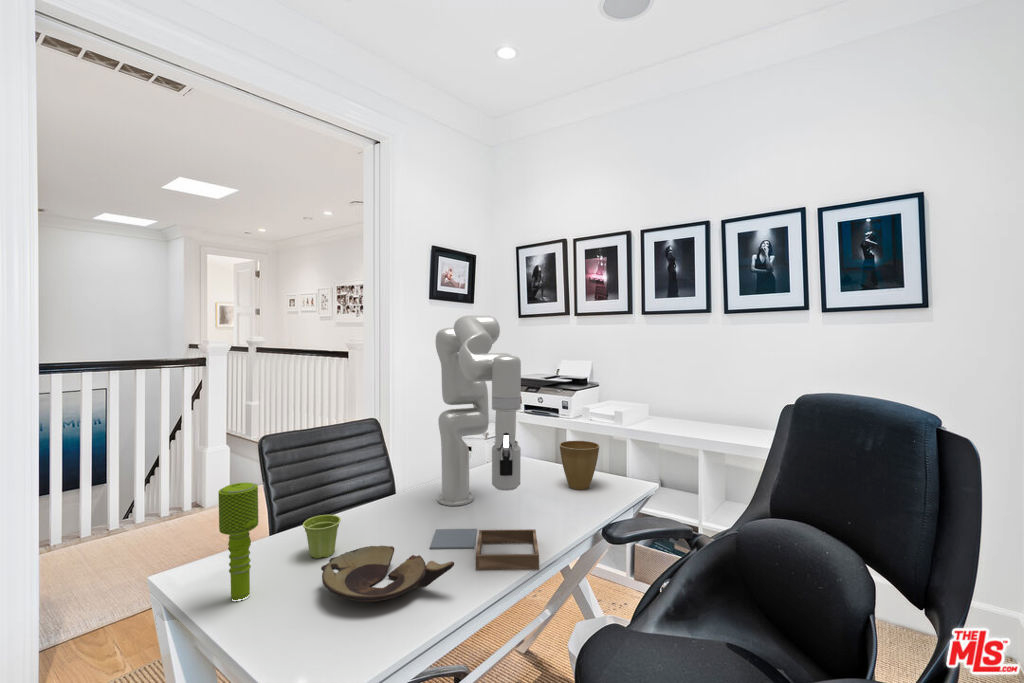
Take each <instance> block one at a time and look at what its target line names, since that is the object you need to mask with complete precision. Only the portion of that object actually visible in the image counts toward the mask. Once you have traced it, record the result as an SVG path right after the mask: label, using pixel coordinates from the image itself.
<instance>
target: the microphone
mask: <svg viewBox="0 0 1024 683" xmlns="http://www.w3.org/2000/svg"><path fill="white" fill-rule="evenodd" d="M217 492H218V493H217V494H218V528H219V533H221V534H222V535H226V536H227V535H228V543H227V546H228V547H227V550H228V552H230V554H229V555H228V558H229V563H228V566H229V567H230V568H229V570H228V572H229V574H230V600H231V599H233V600H238V599H243V598H245V597H247V596H248V595H249V594H250V595H251V592H250V591H251V583H250V582H251V581H250V580H251V577H250V576H251V574H250V571H251V568H252V565H251V564H250V563H251V561H252V560H251V558H250V555H251V551H250V550H249V549H250V548H251V543H252V541H251V540H252V539H251V537H250V535H251V534H250V531H252V530H255V528H256V527H258V526H259V486H258V484H256V483H253V482H237V483H232V484H229V485H225V487H224V486H223V488H220V489H219V490H218V491H217Z"/></svg>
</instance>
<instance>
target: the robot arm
mask: <svg viewBox="0 0 1024 683" xmlns="http://www.w3.org/2000/svg"><path fill="white" fill-rule="evenodd" d="M500 332H501V327H500V324H499V322H498V320H497V319H496V318H495V317H494V316H491V315H465V316H460V317H459V318H457V320H455V322H454V325H453V327H446V328H442V329H440V330H438V331H437V332H436V335H435V342H434V343H435V349H436V354H437V356H438V358H439V363H440V367H441V395H442V396H441V397H442V400H443V403H445V404H446V405H450V406H460V405H461V406H462V405H472V406H473V407H467V408H466V407H465V408H464V407H463V408H451V409H446V410H444V411H442V412H441V413H440V414H439V416H438V420H437V421H438V430H439V435H440V446H441V448H440V449H441V450H440V451H441V493H440V494H439V495H437V502H438V503H439V504H441V505H444V506H453V507H456V506H463V505H464V506H465V505H467V504H469V503H473V501H474V500H475V496H474V494H473V493H472V492H470V449H469V446H468V444H467V443H466V442H465V441H464V440H463V437H467V436H469V437H470V436H477V435H482V434H483V435H484V434H485V433H486V432H487V431H488V429H489V416H490V414H489V393H488V392H489V390H488V384H487V382H491V410H492V411H495V422H494V423H495V424H494V425H495V426H494V427H495V428H494V431H495V432H494V434H495V435H494V436H495V441H494V442H495V443H494V445H495V448H496V449H498V448H500V447H501V460H500V475H501V476H512V474H513V460H512V449H513V448H514V444H515V441H516V433H517V432H516V430H517V411H520V410H521V408H522V407H521V406H522V405H521V404H522V402H521V399H522V398H521V396H522V391H521V390H522V388H521V387H522V386H521V385H522V371H521V370H522V368H521V367H522V365H521V362H522V361H521V359H520V357H518V356H515V355H512V354H509V353H505V352H501V353H497V352H496V353H494V352H491V353H489V352H490V351H491V349H492V347H493V345H494V344H495V343H496V342H497V341H498V340H499V339H498V338H499V337H500ZM502 445H504V447H502ZM509 446H510V447H509ZM509 451H510V452H509ZM509 456H510V458H509ZM509 459H510V460H509Z"/></svg>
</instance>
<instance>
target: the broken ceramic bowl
mask: <svg viewBox="0 0 1024 683" xmlns="http://www.w3.org/2000/svg"><path fill="white" fill-rule="evenodd" d="M394 554H395V547H394V546H392V545H391V546H390V545H389V546H388V545H370V546H364V547H363V546H362V547H359V548H356V549H353V550H350V551H347V552H344V553H342V554H339V555H338V556H333V557H331V558H330V559H329V560H328V563H326V564H324V565H321V568H320V569H321V571H322V573H321V581H322V584H323V586H324V587H325V589H326V590H327V591H328V592H330V593H332V594H333V595H336V596H337V597H340V598H344V599H348V600H350V601H351V600H352V601H356V602H378V601H379V602H380V601H385V600H390V599H393V598H396V597H398V596H400V595H403V594H405V593H407V592H409V591H411V590H413V589H414V588H425V587H427V586H429V585H431V584H432V583H433V582H434V581H436V580H437V579H439V578H440V577H442V576H443V575H444V574H446V573H447V572H448V571H450V570H451V569H452V568H453V567H454V566H455V562H454V561H453V560H452V561H448V562H445V563H438V562H435V561H434V560H430V561H428V562H427V563H426V562H425V559H424V558H423V557H422V556H421V555H417V556H416V555H414V554H412V555H411V556H409V558H407V559H406V560H405V561H404V562H402V563H401V564H400V565H398V566H397V567H395V568H394V569H393V570H392V571H391V572H389V573H388V570H389V569H390V566H391V562H392V560H393V556H394ZM335 571H337V572H335ZM387 573H388V575H387V577H388V579H392V580H394V581H392V582H389V583H390V584H389V583H388V584H387V585H386V586H384V587H374V585H375V584H377V583H379V582H380V581H382V580H383V579H384V578H385V577H386V574H387Z"/></svg>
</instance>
